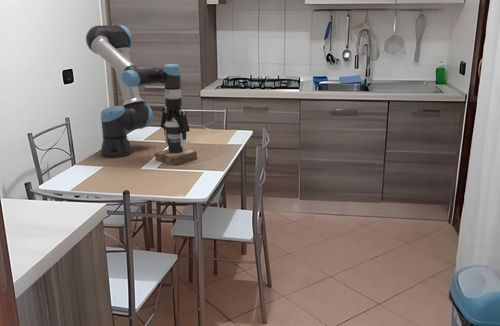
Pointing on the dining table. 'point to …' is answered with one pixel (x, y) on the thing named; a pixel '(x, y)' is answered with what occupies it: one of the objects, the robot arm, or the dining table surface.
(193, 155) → the pedestal
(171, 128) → the coffee cup
